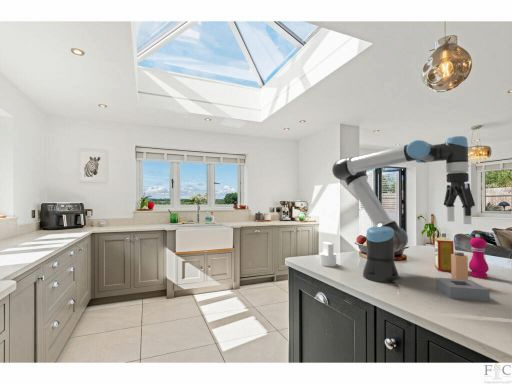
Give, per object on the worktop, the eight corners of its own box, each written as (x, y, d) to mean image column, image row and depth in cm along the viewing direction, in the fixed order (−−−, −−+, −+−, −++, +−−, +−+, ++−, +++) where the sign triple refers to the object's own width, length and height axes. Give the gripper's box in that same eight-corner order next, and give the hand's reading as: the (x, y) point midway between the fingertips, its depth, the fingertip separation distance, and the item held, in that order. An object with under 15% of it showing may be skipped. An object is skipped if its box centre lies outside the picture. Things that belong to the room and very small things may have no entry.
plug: (456, 287, 110) (455, 253, 111) (451, 284, 114) (450, 251, 115) (468, 288, 109) (467, 254, 110) (462, 284, 113) (462, 252, 114)
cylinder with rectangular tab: (317, 262, 153) (317, 241, 154) (332, 262, 154) (332, 241, 154) (323, 266, 144) (323, 244, 145) (339, 266, 145) (338, 244, 146)
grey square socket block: (450, 301, 95) (450, 287, 95) (435, 290, 107) (435, 277, 107) (489, 304, 92) (489, 289, 92) (470, 292, 104) (470, 279, 104)
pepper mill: (492, 279, 121) (491, 235, 122) (474, 278, 123) (473, 235, 123) (482, 274, 128) (481, 233, 129) (465, 274, 130) (464, 233, 130)
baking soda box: (454, 272, 133) (453, 240, 133) (438, 270, 136) (437, 239, 136) (449, 267, 141) (448, 238, 142) (435, 266, 144) (434, 237, 145)
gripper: (485, 169, 100) (486, 225, 99) (452, 175, 124) (453, 220, 124) (462, 170, 102) (463, 225, 101) (434, 175, 126) (435, 220, 125)
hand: (458, 222), depth 112 cm, fingers open, 13 cm apart
